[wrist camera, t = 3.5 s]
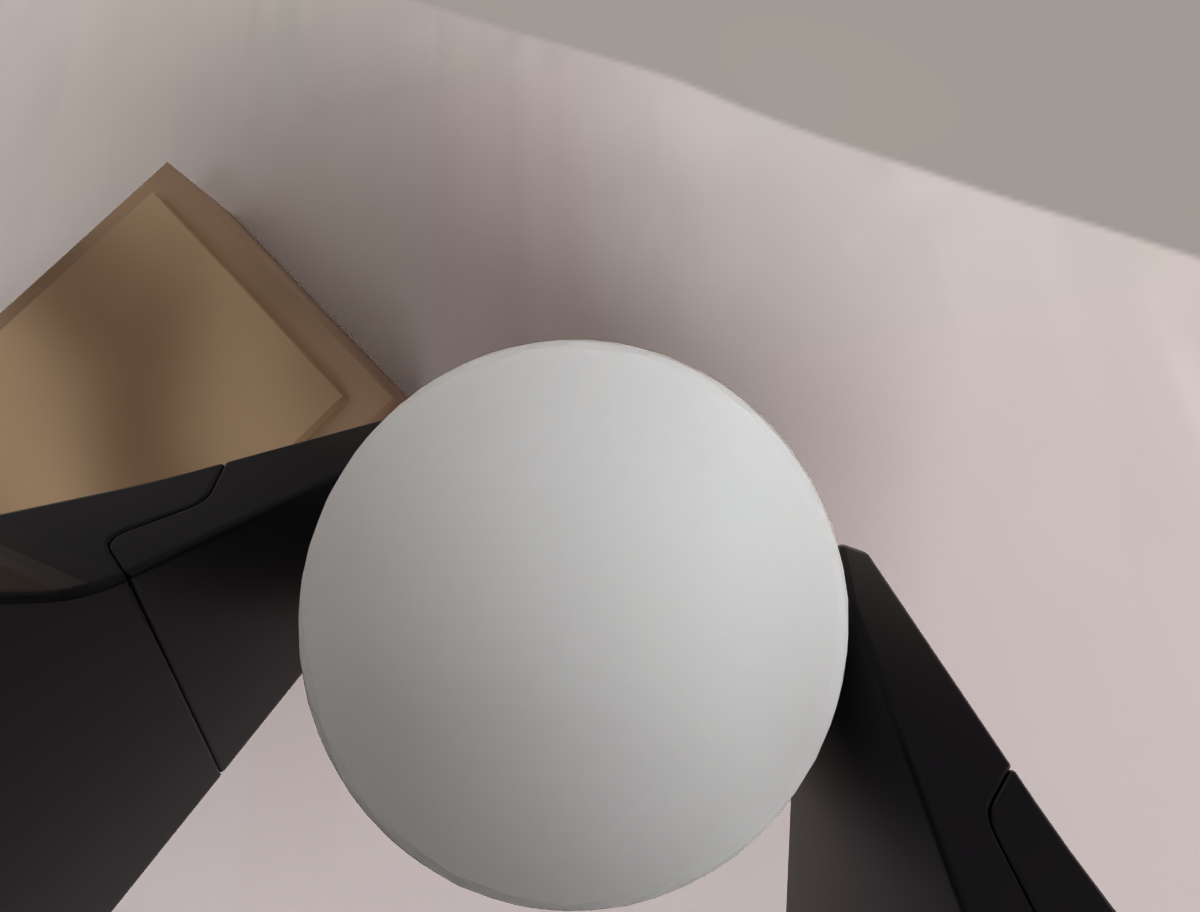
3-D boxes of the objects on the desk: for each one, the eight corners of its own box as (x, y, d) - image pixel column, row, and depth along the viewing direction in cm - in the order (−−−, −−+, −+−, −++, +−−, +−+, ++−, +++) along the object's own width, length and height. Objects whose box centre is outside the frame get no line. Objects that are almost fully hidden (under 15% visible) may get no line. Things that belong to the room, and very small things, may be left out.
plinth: (174, 672, 16) (75, 695, 14) (-5, 431, 18) (-122, 409, 15) (430, 421, 17) (386, 394, 14) (231, 214, 19) (158, 155, 16)
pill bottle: (467, 556, 16) (79, 547, 5) (637, 412, 16) (597, 123, 6) (612, 745, 15) (493, 1236, 4) (793, 586, 15) (1136, 651, 4)
